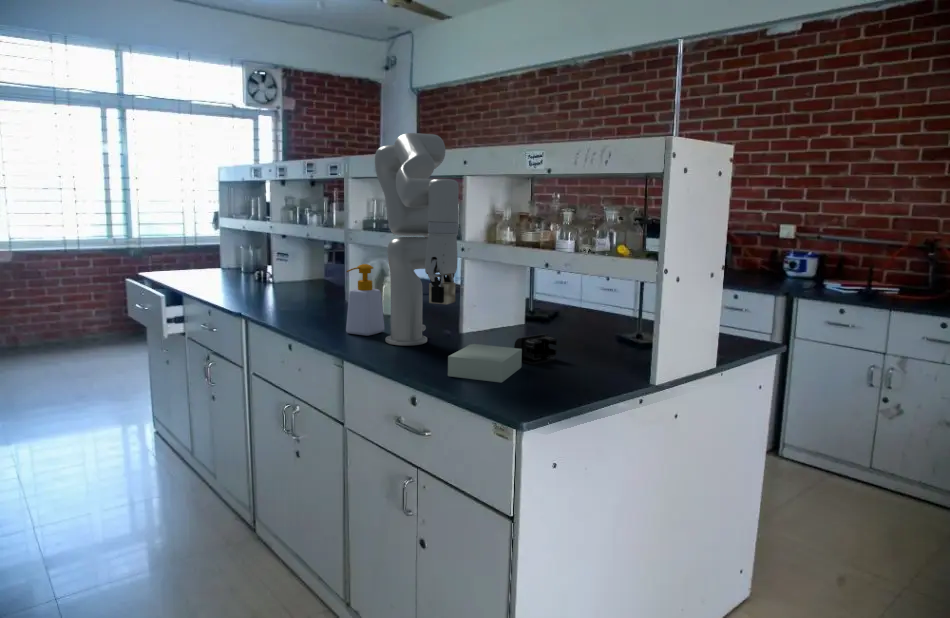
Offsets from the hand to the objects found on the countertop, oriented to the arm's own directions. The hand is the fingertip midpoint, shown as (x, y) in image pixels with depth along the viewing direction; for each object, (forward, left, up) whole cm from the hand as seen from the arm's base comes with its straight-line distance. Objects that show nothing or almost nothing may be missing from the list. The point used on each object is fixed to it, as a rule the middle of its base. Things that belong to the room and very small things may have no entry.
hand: (442, 300), depth 171 cm
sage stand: (-1, +12, -18) cm, 21 cm away
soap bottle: (-28, -40, -18) cm, 52 cm away
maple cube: (0, 0, -1) cm, 1 cm away
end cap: (-19, +20, -18) cm, 33 cm away
